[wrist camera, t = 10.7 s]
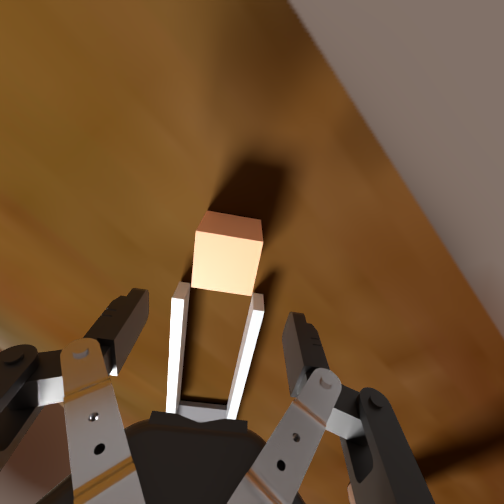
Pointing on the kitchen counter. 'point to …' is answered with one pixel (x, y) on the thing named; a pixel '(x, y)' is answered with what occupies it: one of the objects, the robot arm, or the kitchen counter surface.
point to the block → (227, 253)
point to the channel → (178, 347)
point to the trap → (201, 411)
